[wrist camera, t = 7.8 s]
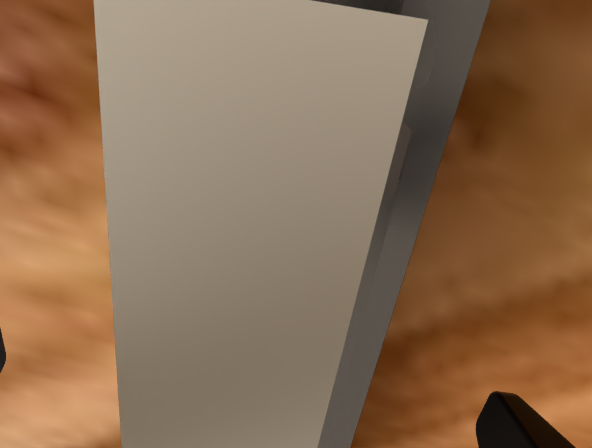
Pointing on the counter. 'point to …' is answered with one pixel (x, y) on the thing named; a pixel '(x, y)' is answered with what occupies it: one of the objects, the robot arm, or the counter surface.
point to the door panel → (243, 205)
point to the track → (403, 193)
